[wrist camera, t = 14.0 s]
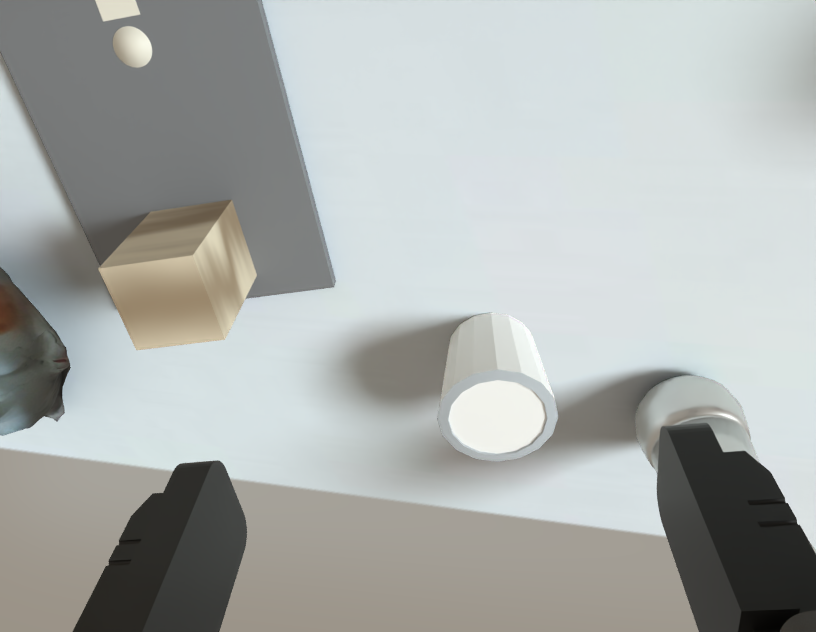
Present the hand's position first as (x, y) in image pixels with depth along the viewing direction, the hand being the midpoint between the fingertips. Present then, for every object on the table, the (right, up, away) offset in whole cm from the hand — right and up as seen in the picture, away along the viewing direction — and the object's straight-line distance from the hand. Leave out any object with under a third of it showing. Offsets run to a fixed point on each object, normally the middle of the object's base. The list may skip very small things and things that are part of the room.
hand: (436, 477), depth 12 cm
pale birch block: (-13, +7, +28) cm, 32 cm away
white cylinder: (+5, +1, +32) cm, 32 cm away
